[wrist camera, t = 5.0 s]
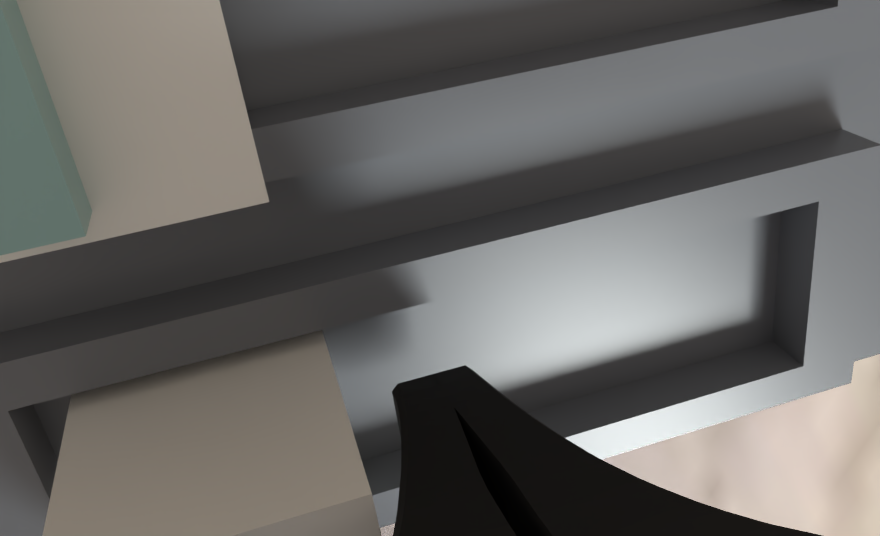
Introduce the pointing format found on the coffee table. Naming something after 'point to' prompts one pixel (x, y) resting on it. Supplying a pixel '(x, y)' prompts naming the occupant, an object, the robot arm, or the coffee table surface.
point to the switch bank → (500, 223)
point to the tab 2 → (215, 452)
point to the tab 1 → (117, 121)
